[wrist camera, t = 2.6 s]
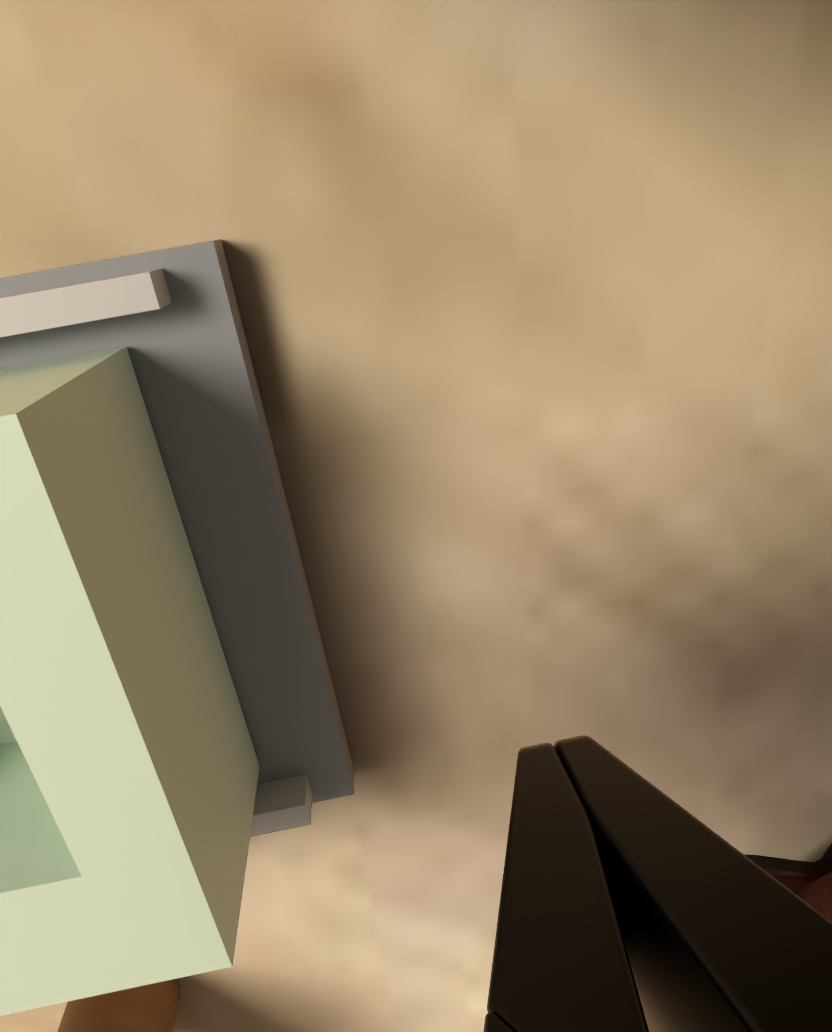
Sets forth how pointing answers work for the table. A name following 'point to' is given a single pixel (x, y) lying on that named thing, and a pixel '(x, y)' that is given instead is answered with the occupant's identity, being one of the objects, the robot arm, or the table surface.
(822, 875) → the mate gourd
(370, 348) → the table surface
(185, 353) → the guide board
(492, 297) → the table surface
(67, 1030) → the walnut peg
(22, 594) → the sliding block
